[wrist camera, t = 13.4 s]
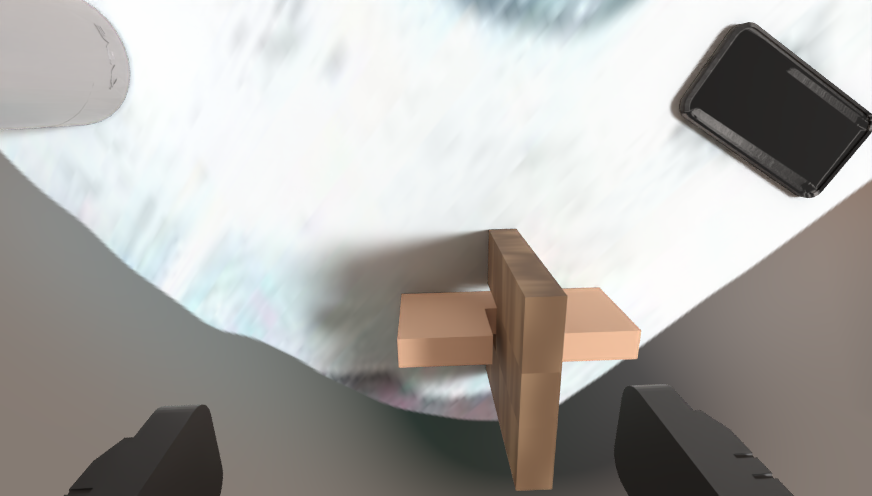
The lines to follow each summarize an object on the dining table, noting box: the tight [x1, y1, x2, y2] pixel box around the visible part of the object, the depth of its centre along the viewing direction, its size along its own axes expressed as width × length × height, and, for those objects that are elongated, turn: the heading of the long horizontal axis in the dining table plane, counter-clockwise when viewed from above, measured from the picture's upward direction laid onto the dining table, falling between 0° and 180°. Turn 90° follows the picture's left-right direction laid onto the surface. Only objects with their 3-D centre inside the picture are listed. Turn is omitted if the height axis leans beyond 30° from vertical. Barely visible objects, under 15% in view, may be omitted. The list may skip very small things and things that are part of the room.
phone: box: [679, 22, 872, 198], centre depth 36 cm, size 8×1×15 cm
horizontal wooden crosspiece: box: [397, 288, 641, 368], centre depth 37 cm, size 18×2×8 cm, turn 91°
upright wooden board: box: [486, 229, 568, 491], centre depth 34 cm, size 2×14×14 cm, turn 1°
